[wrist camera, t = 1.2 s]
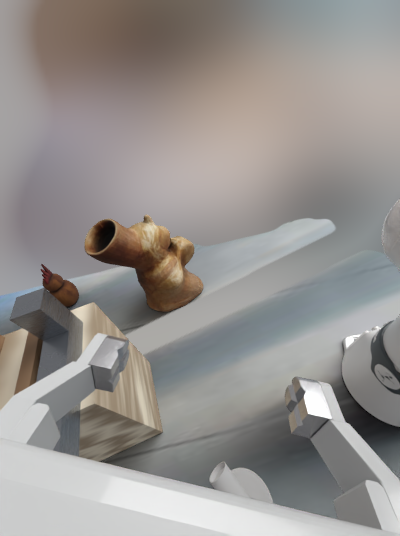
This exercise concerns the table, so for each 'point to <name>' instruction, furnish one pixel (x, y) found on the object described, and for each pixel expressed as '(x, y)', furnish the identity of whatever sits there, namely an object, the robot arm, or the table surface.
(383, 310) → the table surface
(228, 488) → the wall hook
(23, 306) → the bracket
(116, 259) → the ceramic vessel
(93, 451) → the stand
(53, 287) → the wooden figurine
